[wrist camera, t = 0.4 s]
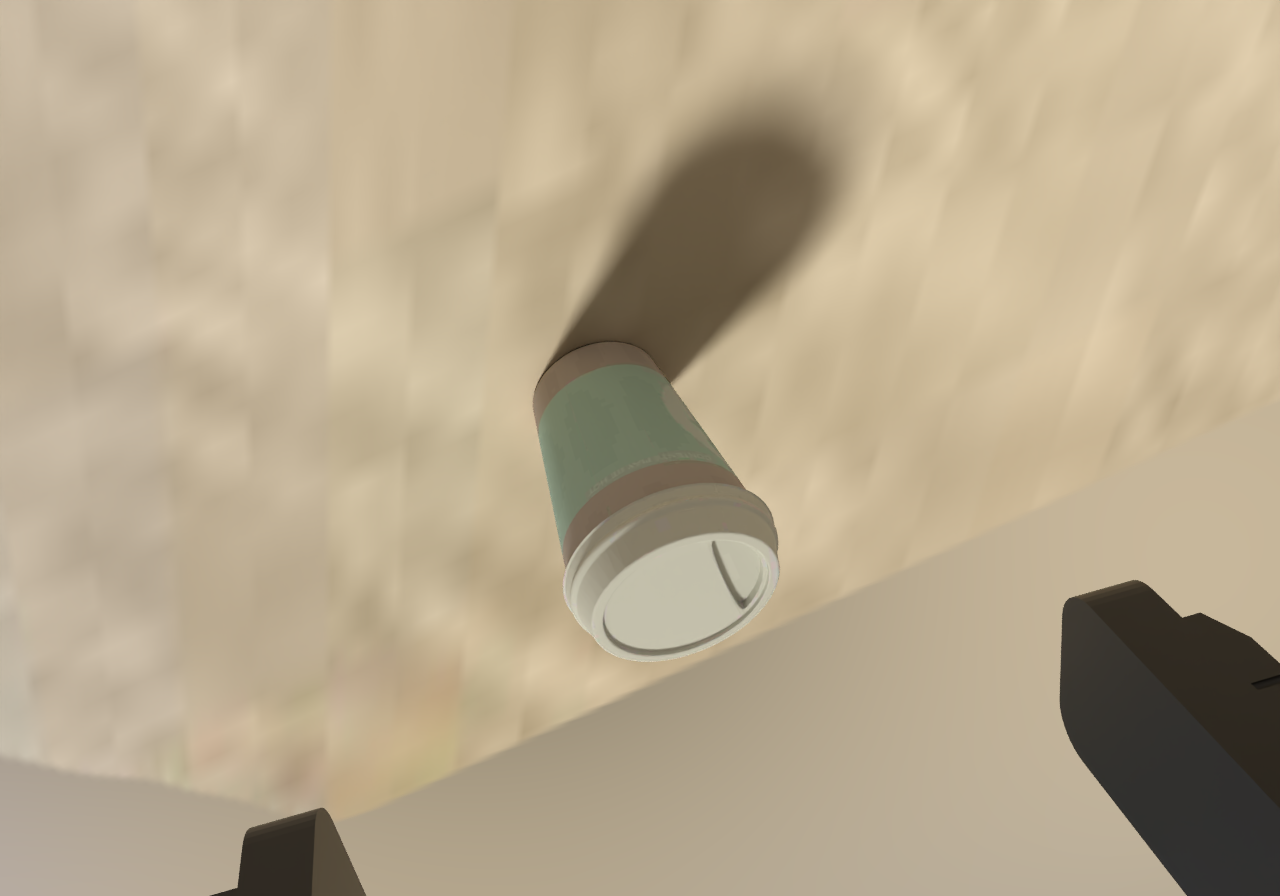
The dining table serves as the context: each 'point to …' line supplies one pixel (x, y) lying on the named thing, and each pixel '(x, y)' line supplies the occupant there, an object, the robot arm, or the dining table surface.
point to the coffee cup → (647, 510)
